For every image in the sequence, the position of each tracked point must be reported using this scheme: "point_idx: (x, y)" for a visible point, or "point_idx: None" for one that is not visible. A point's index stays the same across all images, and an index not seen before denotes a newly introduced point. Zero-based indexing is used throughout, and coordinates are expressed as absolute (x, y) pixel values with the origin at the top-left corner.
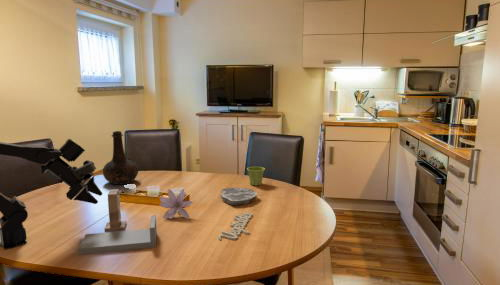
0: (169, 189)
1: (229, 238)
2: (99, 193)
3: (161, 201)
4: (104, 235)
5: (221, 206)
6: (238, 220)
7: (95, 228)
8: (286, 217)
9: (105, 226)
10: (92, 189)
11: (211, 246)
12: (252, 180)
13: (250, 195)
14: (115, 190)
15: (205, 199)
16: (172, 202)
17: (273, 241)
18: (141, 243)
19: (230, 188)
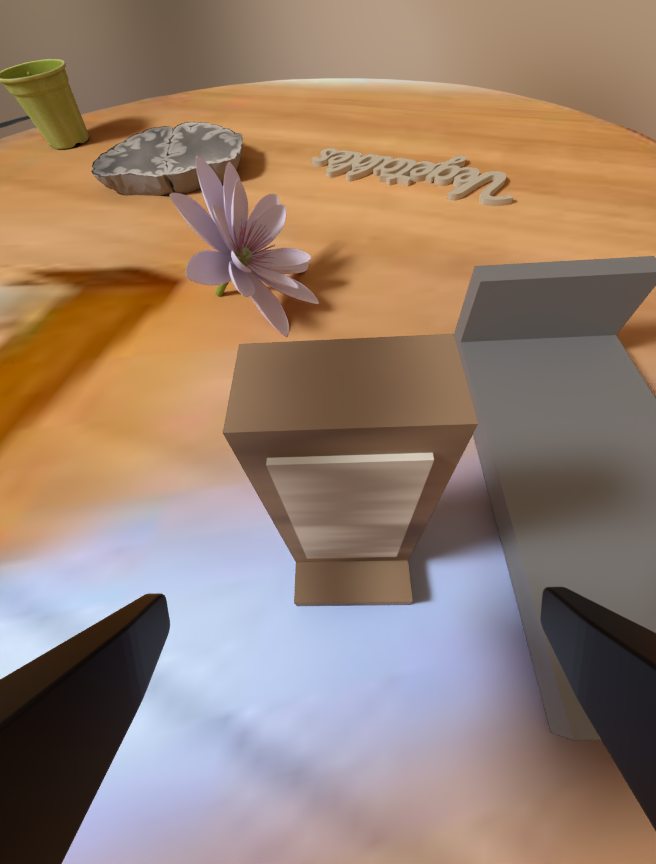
0: (173, 194)
1: (500, 186)
2: (148, 643)
3: (206, 284)
4: (574, 566)
5: None
6: (374, 168)
7: (338, 695)
8: (363, 116)
9: (371, 601)
10: (24, 834)
11: (557, 217)
12: (66, 123)
13: (206, 131)
14: (288, 367)
15: (128, 231)
16: (218, 259)
17: (510, 135)
18: (632, 366)
19: (102, 160)
